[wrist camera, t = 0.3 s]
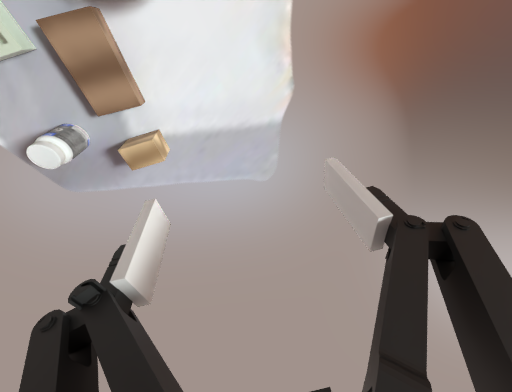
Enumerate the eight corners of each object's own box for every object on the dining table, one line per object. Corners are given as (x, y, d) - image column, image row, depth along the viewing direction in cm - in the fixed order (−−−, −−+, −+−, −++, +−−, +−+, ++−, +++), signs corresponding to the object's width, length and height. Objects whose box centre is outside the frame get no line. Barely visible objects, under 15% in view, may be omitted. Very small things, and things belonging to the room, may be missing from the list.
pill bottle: (69, 117, 35) (34, 134, 28) (96, 138, 38) (70, 159, 31) (52, 133, 36) (14, 154, 30) (80, 153, 39) (51, 177, 32)
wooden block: (128, 139, 39) (117, 150, 35) (158, 129, 38) (152, 139, 34) (140, 158, 41) (132, 170, 37) (169, 149, 41) (164, 160, 37)
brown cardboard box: (50, 21, 29) (35, 20, 26) (100, 9, 29) (89, 6, 26) (106, 111, 36) (98, 116, 33) (145, 101, 36) (140, 105, 33)
